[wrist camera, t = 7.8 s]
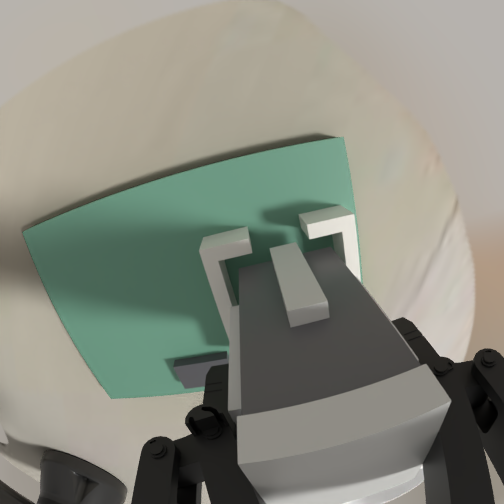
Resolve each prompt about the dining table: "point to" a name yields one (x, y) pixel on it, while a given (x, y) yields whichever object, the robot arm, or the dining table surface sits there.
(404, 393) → the plug
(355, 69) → the dining table surface
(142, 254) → the board
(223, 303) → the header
